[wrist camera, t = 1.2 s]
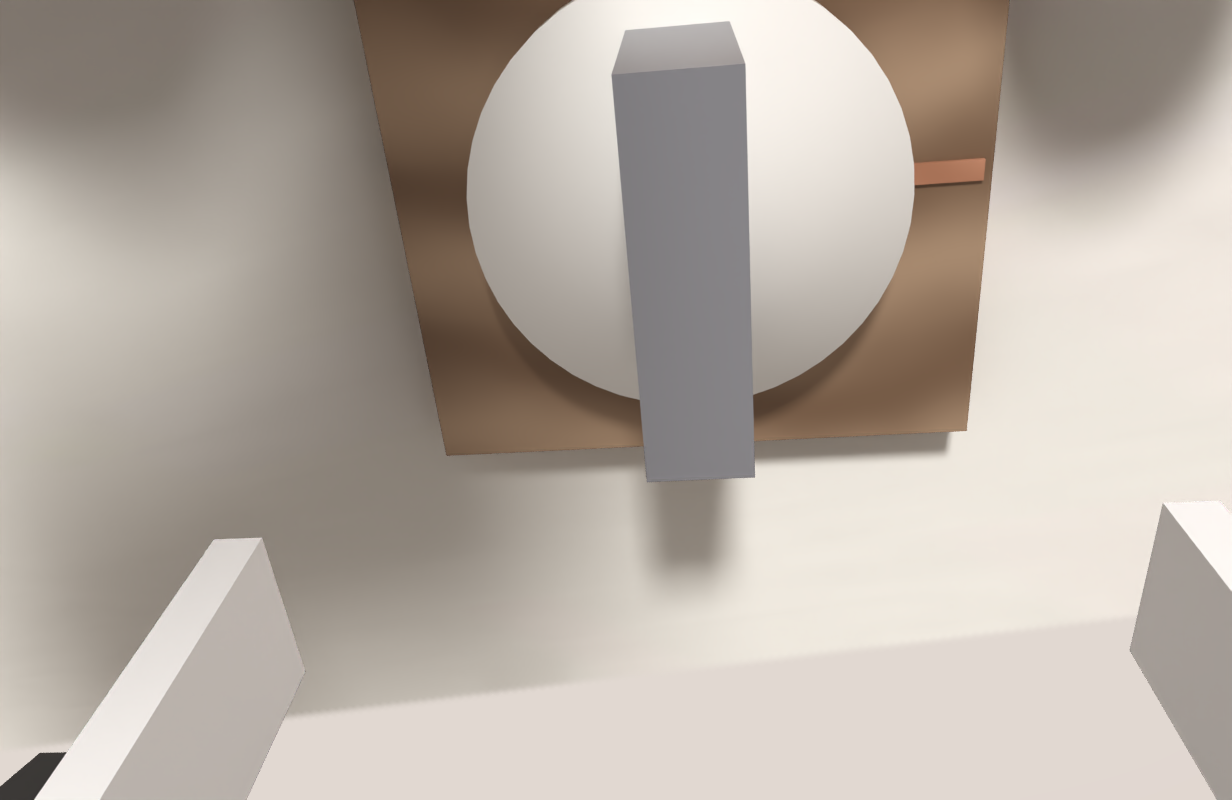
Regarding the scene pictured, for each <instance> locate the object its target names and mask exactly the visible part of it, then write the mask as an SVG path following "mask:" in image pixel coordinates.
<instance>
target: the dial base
mask: <svg viewBox="0 0 1232 800" xmlns="http://www.w3.org/2000/svg"><path fill="white" fill-rule="evenodd" d="M570 1H572V0H354V3H355V8H356V13H357V18H358V23H359V28H360V33H361V38H362V43H363V48H364V53H365V57H366V62H367V67H368V72H369V77H370V82H371V87H372V92H373V97H374V102H375V107H376V111H377V116H378V121H379V126H380V131H381V136H382V141H383V146H384V151H385V156H386V161H387V165H388V170H389V175H390V180H391V185H392V190H393V195H394V200H395V205H396V210H397V215H398V220H399V224H400V229H401V234H402V239H403V244H404V249H405V254H406V259H407V264H408V269H409V274H410V278H411V283H412V288H413V293H414V298H415V303H416V308H417V313H418V318H419V323H420V328H421V333H422V337H423V342H424V347H425V352H426V357H427V362H428V367H429V372H430V377H431V382H432V387H433V391H434V396H435V401H436V406H437V411H438V416H439V421H440V426H441V431H442V436H443V441H444V445H445V450H446V455H447V456H450V455H471V454H492V453H513V452H534V451H555V450H576V449H597V448H618V447H639V446H644V443H643V431H642V420H641V408H640V400H638V399H634V398H629V397H625V396H621V395H618V394H615V393H613V392H610V391H607V390H605V389H602V388H599V387H596V386H594V385H592V384H590V383H588V382H586V381H584V380H582V379H580V378H578V377H576V376H574V375H573V374H571V373H570V372H568V371H567V370H565V369H564V368H562V367H561V366H559V365H558V364H556V363H555V362H553V361H552V360H550V359H549V358H548V357H547V356H546V355H544V354H543V353H542V352H541V351H540V350H539V349H537V348H536V347H535V346H534V345H533V344H532V343H531V342H530V341H529V340H528V339H527V338H526V337H525V336H524V335H523V334H522V333H521V332H520V330H519V329H518V328H517V327H516V326H515V325H514V324H513V323H512V321H511V320H510V318H509V317H508V315H507V314H506V313H505V311H504V310H503V308H502V307H501V306H500V304H499V303H498V301H497V299H496V297H495V295H494V294H493V292H492V290H491V288H490V286H489V284H488V282H487V280H486V279H485V276H484V273H483V271H482V268H481V266H480V263H479V260H478V258H477V255H476V252H475V248H474V244H473V239H472V235H471V231H470V227H469V217H468V207H467V170H468V164H469V158H470V152H471V146H472V140H473V137H474V134H475V131H476V128H477V124H478V121H479V118H480V115H481V112H482V110H483V108H484V106H485V103H486V101H487V99H488V97H489V95H490V93H491V91H492V89H493V86H494V85H495V83H496V82H497V80H498V78H499V77H500V75H501V74H502V72H503V71H504V69H505V68H506V66H507V65H508V63H509V61H510V60H511V59H512V58H513V56H514V55H515V54H516V53H517V52H518V51H519V49H520V48H521V47H522V46H523V45H524V44H525V43H526V41H527V40H528V39H529V38H530V37H531V36H532V34H533V33H534V32H535V31H536V30H537V29H538V28H539V27H540V26H541V25H542V24H543V23H544V22H545V21H546V20H548V19H549V18H550V17H551V16H552V15H553V14H554V13H555V12H557V11H558V10H559V9H560V8H561V7H562V6H564V5H565V4H567V3H569V2H570ZM815 1H817V2H818V3H820V4H821V5H822V6H823V7H824V8H825V9H827V10H828V11H829V12H830V13H831V14H833V15H834V16H835V17H836V18H837V19H838V20H840V21H841V22H842V23H843V24H844V25H845V26H846V27H847V28H849V29H850V30H851V31H852V32H853V33H854V35H855V36H856V37H857V38H858V39H859V40H860V41H861V42H862V44H863V45H864V46H865V47H866V48H867V49H868V50H869V52H870V53H871V54H872V55H873V57H874V58H875V60H876V61H877V63H878V64H879V66H880V68H881V69H882V71H883V72H884V74H885V75H886V77H887V78H888V80H889V82H890V84H891V86H892V88H893V91H894V93H895V95H896V97H897V99H898V102H899V104H900V106H901V108H902V112H903V115H904V118H905V122H906V125H907V129H908V132H909V135H910V141H911V148H912V154H913V161H914V202H913V210H912V217H911V224H910V228H909V232H908V236H907V239H906V243H905V247H904V250H903V253H902V256H901V258H900V260H899V263H898V265H897V268H896V270H895V273H894V275H893V277H892V279H891V281H890V283H889V284H888V286H887V288H886V290H885V291H884V293H883V295H882V297H881V298H880V300H879V302H878V303H877V305H876V306H875V307H874V309H873V310H872V311H871V313H870V314H869V315H868V317H867V318H866V319H865V321H864V322H863V323H862V324H861V325H860V326H859V328H858V329H857V330H856V331H855V332H854V333H853V334H852V335H851V336H850V337H849V338H848V339H847V340H846V341H845V342H844V343H843V344H842V345H841V346H840V347H838V348H837V349H836V350H835V351H833V352H832V353H831V354H830V355H829V356H827V357H826V358H825V359H824V360H822V361H821V362H819V363H818V364H816V365H815V366H813V367H812V368H810V369H808V370H807V371H805V372H804V373H802V374H801V375H799V376H797V377H795V378H793V379H791V380H789V381H787V382H785V383H783V384H781V385H778V386H776V387H774V388H771V389H768V390H766V391H763V392H760V393H757V394H754V395H753V415H754V441H765V440H786V439H807V438H828V437H849V436H870V435H891V434H912V433H933V432H954V431H967V421H968V411H969V401H970V391H971V381H972V371H973V361H974V351H975V341H976V331H977V321H978V311H979V301H980V291H981V281H982V271H983V261H984V251H985V241H986V231H987V221H988V211H989V201H990V191H991V181H992V171H993V161H994V151H995V141H996V131H997V121H998V111H999V101H1000V91H1001V81H1002V71H1003V61H1004V51H1005V41H1006V31H1007V21H1008V11H1009V1H1010V0H815Z"/></svg>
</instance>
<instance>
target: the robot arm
mask: <svg viewBox="0 0 1232 800" xmlns="http://www.w3.org/2000/svg"><path fill="white" fill-rule="evenodd" d="M1130 652H1131V654H1132V655H1133V657H1134V659H1135V660H1136V662H1137V664H1138V666H1139V667H1140V669H1141V671H1142V673H1143V674H1144V676H1145V678H1146V679H1147V681H1148V683H1149V684H1150V686H1151V688H1152V690H1153V691H1154V693H1155V695H1156V696H1157V698H1158V700H1159V701H1160V703H1161V705H1162V707H1163V708H1164V710H1165V712H1166V714H1167V715H1168V717H1169V719H1170V720H1171V722H1172V724H1173V725H1174V727H1175V729H1176V731H1177V732H1178V734H1179V736H1180V737H1181V739H1182V741H1183V742H1184V744H1185V746H1186V748H1187V749H1188V751H1189V753H1190V755H1191V756H1192V758H1193V759H1194V761H1195V763H1196V765H1197V766H1198V768H1199V770H1200V772H1201V773H1202V775H1203V777H1204V778H1205V780H1206V782H1207V783H1208V785H1209V787H1210V789H1211V790H1212V792H1213V794H1214V796H1215V797H1216V799H1217V800H1232V513H1231V512H1230V511H1229V510H1228V509H1227V508H1226V507H1225V505H1224V504H1223V503H1222V502H1221V501H1199V502H1173V503H1163V505H1162V509H1161V514H1160V518H1159V523H1158V527H1157V531H1156V536H1155V540H1154V545H1153V549H1152V553H1151V558H1150V562H1149V567H1148V571H1147V576H1146V580H1145V584H1144V589H1143V593H1142V598H1141V602H1140V606H1139V611H1138V615H1137V620H1136V624H1135V629H1134V633H1133V637H1132V642H1131V646H1130ZM305 672H306V671H305V668H304V665H303V662H302V659H301V656H300V653H299V650H298V647H297V644H296V640H295V637H294V634H293V631H292V628H291V625H290V622H289V619H288V616H287V613H286V610H285V607H284V604H283V600H282V597H281V594H280V591H279V588H278V585H277V582H276V579H275V576H274V573H273V570H272V567H271V564H270V561H269V557H268V554H267V551H266V548H265V545H264V542H263V539H262V538H237V539H214V540H213V541H212V543H211V544H210V546H209V547H208V549H207V550H206V551H205V553H204V554H203V556H202V557H201V559H200V560H199V562H198V563H197V565H196V566H195V567H194V569H193V570H192V572H191V573H190V575H189V576H188V578H187V579H186V580H185V582H184V583H183V585H182V586H181V588H180V589H179V591H178V592H177V594H176V595H175V596H174V598H173V599H172V601H171V602H170V604H169V605H168V607H167V608H166V609H165V611H164V612H163V614H162V615H161V617H160V618H159V620H158V621H157V622H156V624H155V625H154V627H153V628H152V630H151V631H150V633H149V634H148V636H147V637H146V638H145V640H144V641H143V643H142V644H141V646H140V647H139V649H138V650H137V651H136V653H135V654H134V656H133V657H132V659H131V660H130V662H129V663H128V665H127V666H126V667H125V669H124V670H123V672H122V673H121V675H120V676H119V678H118V679H117V680H116V682H115V683H114V685H113V686H112V688H111V689H110V691H109V692H108V693H107V695H106V696H105V698H104V699H103V701H102V702H101V704H100V705H99V707H98V708H97V709H96V711H95V712H94V714H93V715H92V717H91V718H90V720H89V721H88V722H87V724H86V725H85V727H84V728H83V730H82V731H81V733H80V734H79V736H78V737H77V738H76V740H75V741H74V743H73V744H72V746H71V747H70V749H69V750H68V751H67V752H64V753H39V754H38V755H37V756H36V757H35V758H33V759H32V760H31V761H30V762H29V763H27V764H26V765H25V766H24V767H23V768H21V770H19V771H18V772H17V773H16V774H14V775H13V776H12V777H11V778H10V779H9V780H7V781H6V782H5V783H4V784H3V785H2V786H0V800H246V799H247V797H248V795H249V793H250V791H251V788H252V786H253V784H254V782H255V780H256V778H257V775H258V773H259V771H260V769H261V767H262V765H263V763H264V760H265V758H266V756H267V754H268V752H269V750H270V747H271V745H272V743H273V741H274V739H275V737H276V734H277V732H278V730H279V728H280V726H281V723H282V721H283V719H284V717H285V715H286V713H287V711H288V708H289V706H290V704H291V702H292V700H293V698H294V695H295V693H296V691H297V689H298V687H299V685H300V682H301V680H302V678H303V676H304V674H305Z"/></svg>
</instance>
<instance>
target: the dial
mask: <svg viewBox="0 0 1232 800" xmlns="http://www.w3.org/2000/svg"><path fill="white" fill-rule="evenodd" d="M913 202H914V161H913V154H912V148H911V141H910V135H909V132H908V129H907V125H906V122H905V118H904V115H903V112H902V108H901V106H900V104H899V102H898V99H897V97H896V95H895V93H894V91H893V88H892V86H891V84H890V82H889V80H888V78H887V77H886V75H885V74H884V72H883V71H882V69H881V68H880V66H879V64H878V63H877V61H876V60H875V58H874V57H873V55H872V54H871V53H870V52H869V50H868V49H867V48H866V47H865V46H864V45H863V44H862V42H861V41H860V40H859V39H858V38H857V37H856V36H855V35H854V33H853V32H852V31H851V30H850V29H849V28H847V27H846V26H845V25H844V24H843V23H842V22H841V21H840V20H838V19H837V18H836V17H835V16H834V15H833V14H831V13H830V12H829V11H828V10H827V9H825V8H824V7H823V6H822V5H821V4H820V3H818V2H817V1H815V0H572V1H570V2H569V3H567V4H565V5H564V6H562V7H561V8H560V9H559V10H558V11H557V12H555V13H554V14H553V15H552V16H551V17H550V18H549V19H548V20H546V21H545V22H544V23H543V24H542V25H541V26H540V27H539V28H538V29H537V30H536V31H535V32H534V33H533V34H532V36H531V37H530V38H529V39H528V40H527V41H526V43H525V44H524V45H523V46H522V47H521V48H520V49H519V51H518V52H517V53H516V54H515V55H514V56H513V58H512V59H511V60H510V61H509V63H508V65H507V66H506V68H505V69H504V71H503V72H502V74H501V75H500V77H499V78H498V80H497V82H496V83H495V85H494V86H493V89H492V91H491V93H490V95H489V97H488V99H487V101H486V103H485V106H484V108H483V110H482V112H481V115H480V118H479V121H478V124H477V128H476V131H475V134H474V137H473V140H472V146H471V152H470V158H469V164H468V170H467V207H468V217H469V227H470V231H471V235H472V239H473V244H474V248H475V252H476V255H477V258H478V260H479V263H480V266H481V268H482V271H483V273H484V276H485V279H486V280H487V282H488V284H489V286H490V288H491V290H492V292H493V294H494V295H495V297H496V299H497V301H498V303H499V304H500V306H501V307H502V308H503V310H504V311H505V313H506V314H507V315H508V317H509V318H510V320H511V321H512V323H513V324H514V325H515V326H516V327H517V328H518V329H519V330H520V332H521V333H522V334H523V335H524V336H525V337H526V338H527V339H528V340H529V341H530V342H531V343H532V344H533V345H534V346H535V347H536V348H537V349H539V350H540V351H541V352H542V353H543V354H544V355H546V356H547V357H548V358H549V359H550V360H552V361H553V362H555V363H556V364H558V365H559V366H561V367H562V368H564V369H565V370H567V371H568V372H570V373H571V374H573V375H574V376H576V377H578V378H580V379H582V380H584V381H586V382H588V383H590V384H592V385H594V386H596V387H599V388H602V389H605V390H607V391H610V392H613V393H615V394H618V395H621V396H625V397H629V398H634V399H638V400H640V408H641V420H642V431H643V443H644V454H645V466H646V477H647V482H661V481H683V480H706V479H728V478H751V477H755V459H754V415H753V395H754V394H757V393H760V392H763V391H766V390H768V389H771V388H774V387H776V386H778V385H781V384H783V383H785V382H787V381H789V380H791V379H793V378H795V377H797V376H799V375H801V374H802V373H804V372H805V371H807V370H808V369H810V368H812V367H813V366H815V365H816V364H818V363H819V362H821V361H822V360H824V359H825V358H826V357H827V356H829V355H830V354H831V353H832V352H833V351H835V350H836V349H837V348H838V347H840V346H841V345H842V344H843V343H844V342H845V341H846V340H847V339H848V338H849V337H850V336H851V335H852V334H853V333H854V332H855V331H856V330H857V329H858V328H859V326H860V325H861V324H862V323H863V322H864V321H865V319H866V318H867V317H868V315H869V314H870V313H871V311H872V310H873V309H874V307H875V306H876V305H877V303H878V302H879V300H880V298H881V297H882V295H883V293H884V291H885V290H886V288H887V286H888V284H889V283H890V281H891V279H892V277H893V275H894V273H895V270H896V268H897V265H898V263H899V260H900V258H901V256H902V253H903V250H904V247H905V243H906V239H907V236H908V232H909V228H910V224H911V217H912V210H913Z"/></svg>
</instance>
